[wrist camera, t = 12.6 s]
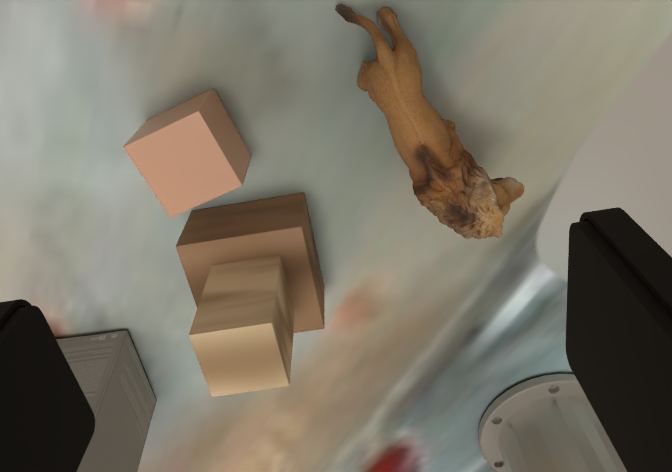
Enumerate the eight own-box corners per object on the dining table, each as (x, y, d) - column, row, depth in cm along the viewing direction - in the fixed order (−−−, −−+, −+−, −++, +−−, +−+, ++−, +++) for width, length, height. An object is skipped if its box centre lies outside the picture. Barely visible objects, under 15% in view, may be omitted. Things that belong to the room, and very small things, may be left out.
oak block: (294, 311, 39) (289, 385, 33) (229, 321, 39) (211, 396, 33) (280, 254, 37) (271, 322, 30) (211, 265, 37) (188, 335, 31)
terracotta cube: (251, 155, 39) (242, 185, 34) (187, 184, 40) (170, 217, 35) (213, 87, 37) (198, 111, 32) (146, 120, 37) (122, 147, 33)
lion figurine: (503, 158, 39) (548, 219, 31) (438, 203, 41) (465, 272, 33) (370, -25, 33) (383, -7, 26) (300, 36, 35) (293, 70, 27)
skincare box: (51, 336, 46) (-68, 518, 32) (139, 325, 45) (58, 505, 31) (87, 413, 50) (-5, 605, 36) (168, 404, 49) (107, 594, 36)
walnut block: (324, 287, 44) (324, 328, 39) (221, 302, 44) (210, 345, 40) (304, 192, 40) (301, 226, 36) (191, 210, 41) (175, 246, 36)
